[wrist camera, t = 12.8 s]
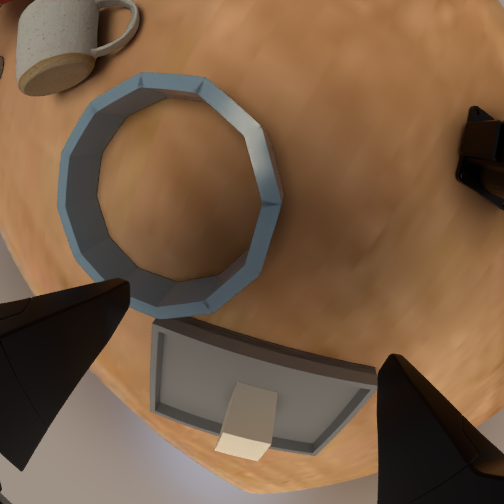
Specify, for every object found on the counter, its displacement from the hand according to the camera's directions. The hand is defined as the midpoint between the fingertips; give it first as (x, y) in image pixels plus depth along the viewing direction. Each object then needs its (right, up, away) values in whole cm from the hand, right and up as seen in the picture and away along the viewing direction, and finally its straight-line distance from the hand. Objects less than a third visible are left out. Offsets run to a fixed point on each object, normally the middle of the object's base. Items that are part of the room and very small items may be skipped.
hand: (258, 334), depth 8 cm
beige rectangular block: (0, -12, +16) cm, 20 cm away
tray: (0, -11, +17) cm, 20 cm away
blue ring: (-6, +7, +11) cm, 14 cm away
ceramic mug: (-14, +21, +7) cm, 27 cm away
